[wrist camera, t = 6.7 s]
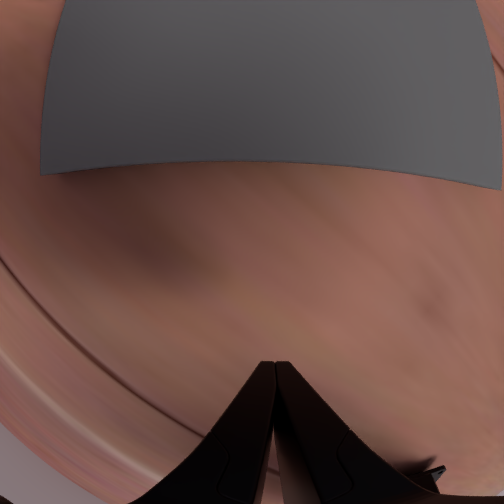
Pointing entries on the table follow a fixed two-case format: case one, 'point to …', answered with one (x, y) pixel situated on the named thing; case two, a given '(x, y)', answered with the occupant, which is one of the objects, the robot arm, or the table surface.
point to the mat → (274, 86)
